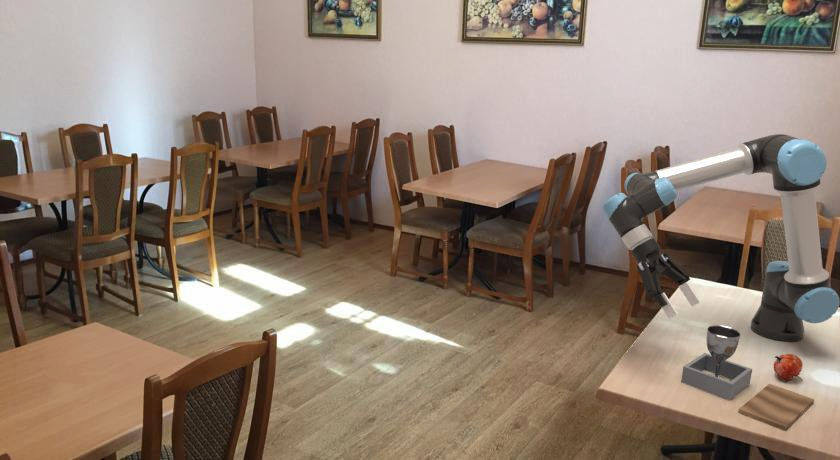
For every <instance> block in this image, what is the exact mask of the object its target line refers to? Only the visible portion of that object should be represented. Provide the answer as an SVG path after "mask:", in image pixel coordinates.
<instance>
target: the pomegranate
mask: <svg viewBox="0 0 840 460" xmlns="http://www.w3.org/2000/svg"><path fill="white" fill-rule="evenodd" d="M774 359H775V361H773V371H774V373H775V375H776V376H777V377H778V378H779V379H780V380H782V381H784V382H791V381H793V379H794V378H798V379H799V380H800V381H803V379H802V378H801V377H800V375H801V372H802V369H803V361H802V360H801V358H800V357H798V355H796V354H791V353H786V354H781V355H780V356H778V355H775V356H774Z"/></svg>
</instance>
